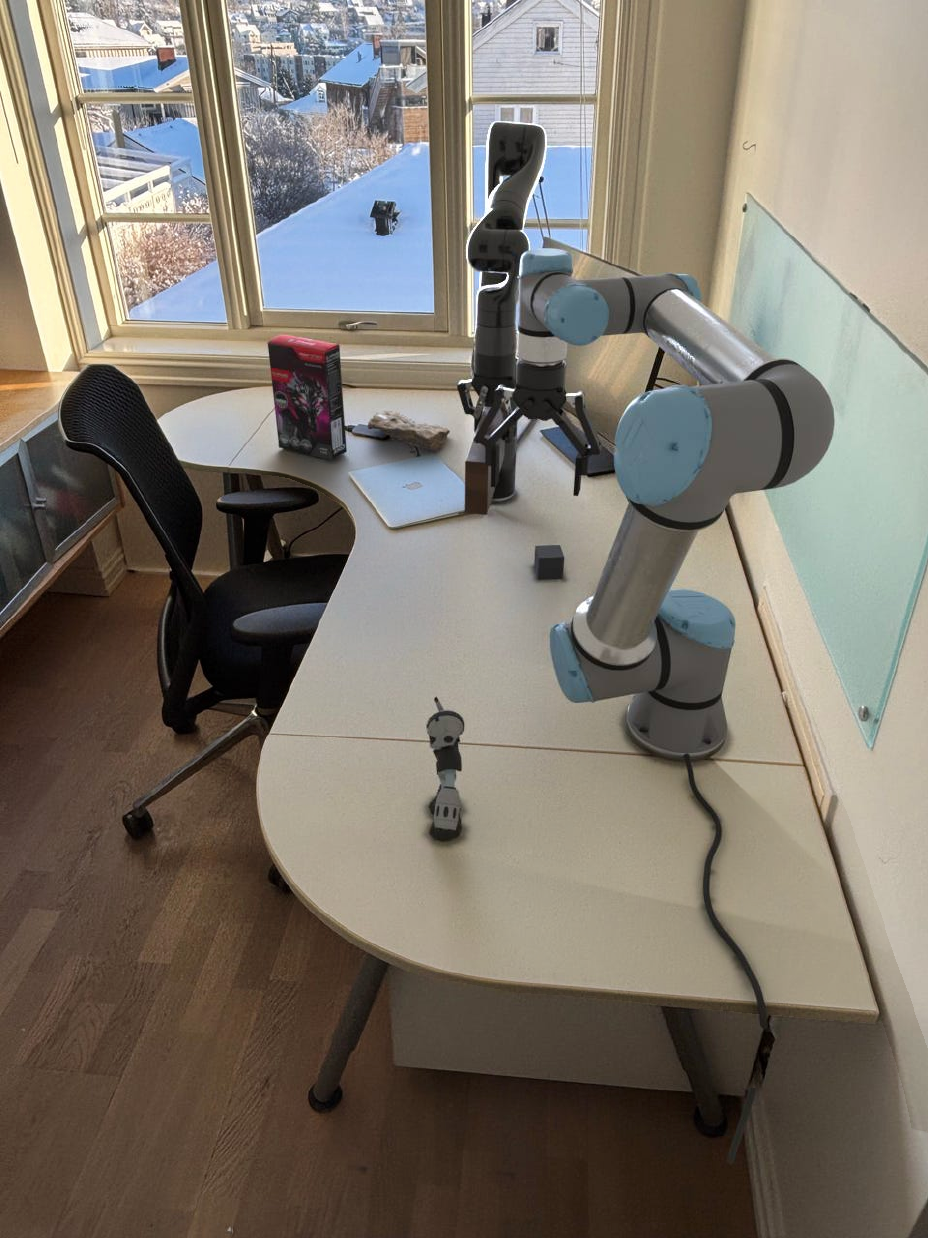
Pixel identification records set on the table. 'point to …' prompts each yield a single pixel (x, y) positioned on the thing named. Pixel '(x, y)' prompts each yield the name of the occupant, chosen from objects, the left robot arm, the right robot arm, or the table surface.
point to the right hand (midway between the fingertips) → (535, 488)
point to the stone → (408, 430)
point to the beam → (481, 470)
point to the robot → (446, 772)
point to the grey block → (549, 562)
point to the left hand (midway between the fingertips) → (492, 436)
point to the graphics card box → (308, 395)
